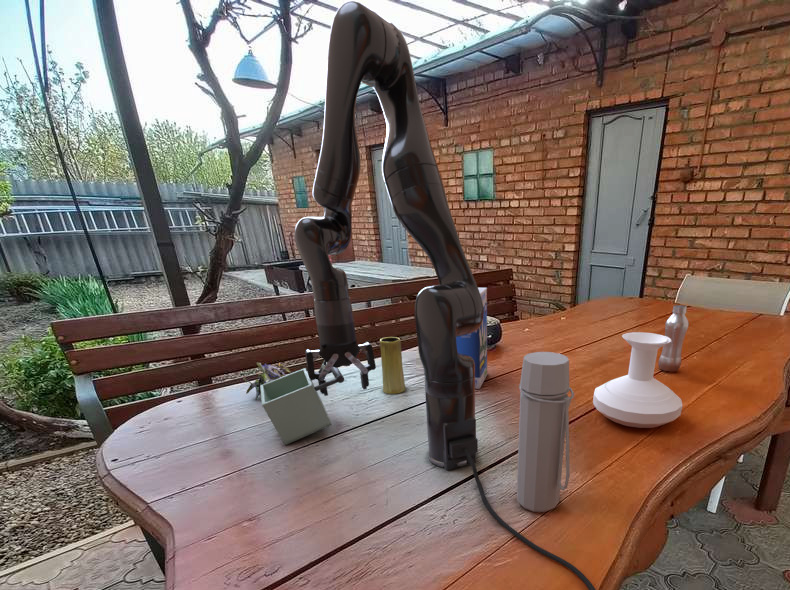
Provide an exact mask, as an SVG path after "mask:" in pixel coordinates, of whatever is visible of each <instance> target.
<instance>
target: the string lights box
mask: <svg viewBox="0 0 790 590" xmlns="http://www.w3.org/2000/svg"><path fill="white" fill-rule="evenodd" d="M478 289H479V292H480V295H481V298H482V302H483V309H484V315H483V321H482V324H481V326H480V327H479V328H478V329H477V330H476V331H475V332H472V333H470V334H466V335H463V336H459V337H456V343H457V351H458V353H462V354H466V355H468V356H470V357H472V359H473V360H474V363H475V390H480V389H481V387H482V385H483V383H484V381H485V380H486V377H487V376H488V287H478Z"/></svg>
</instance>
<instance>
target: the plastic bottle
mask: <svg viewBox="0 0 790 590" xmlns="http://www.w3.org/2000/svg"><path fill="white" fill-rule="evenodd" d="M687 308H688V307H687V305H682V304H677V305H676V304H675V305H673V306H672V311H671V312H672V314H671V315H670V316H669V317H668V318H667V320H666V322H665V325H664V336H667V337H669V338H670V339H671V342H669V343H668V344H666V345H664V346H662V350H661V353H660V356H659V359H658V361H657V362H658V368H659V370H661V371H664V372H677V371H679V370H680V368H681V365H682V353H683V352H682V351H683V345H684V341H685V337H686V334H687V331H688V328H689V325H690V324H689V320H688V317H687V316H686V314H687Z"/></svg>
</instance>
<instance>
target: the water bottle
mask: <svg viewBox="0 0 790 590" xmlns="http://www.w3.org/2000/svg"><path fill="white" fill-rule="evenodd" d="M518 388H519V391H520V393H519V421H518V449H517V474H516V475H517V477H516V478H517V479H516V501H517V503H518V504H520V505H521V507H522V508H523V509H525V510H527V511H530V512H533V513H545V512H548V511H551V510H553V509H555V508H556V507H557V505H558V504H559V502H560V497H561V490H562V491H566V490H567V488H568V485H569V481H570V476H571V474H570V473H571V471H570V469H571V467H570V421H569V418H570V417H569V416H570V415H569V408H570V405H571V402H572V399H574V397H575V392H574V390H573V389H572V388H571V387H570V359H569V358H568V356H567V355H564V354H563V353H558V352H552V351H536V352H530V353H529V352H528V353H527V354H525V355H524V356H523V359H522V366H521V374H520V382H519V385H518ZM569 392H570V394H571V396H569V395H568V393H569ZM564 449H565V450H564ZM564 451H565V480H564V486H562V476H563V475H562V473H563V462H564Z"/></svg>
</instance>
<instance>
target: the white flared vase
mask: <svg viewBox="0 0 790 590" xmlns="http://www.w3.org/2000/svg"><path fill="white" fill-rule="evenodd" d="M621 337H622V338H623V339H624V341H626V342H627V343H628V344H629V345H630V346H631V350H630V359H629V365H628V373H627V374H626V375H623V376H619V377H616V378H614V379H610V380H609V381H607V382H605V383H603V384H600V385H599V386H596V387H595V389H594V392H593V397H592V398H593V399H592V404H593V406H594V408H595V409H596V410H597V411H598V412H599V413H600V414H602V415H603V416H604V417H605V418H606V419H609V420H610V421H612V422H614V423H617V424H619V425H623V426H626V427H631V428H638V429H643V428H644V429H650V428H651V429H653V428H657V427H660V426H664V425H666V424H669V423H671V422H674V421H675V420H677V419H678V418H679V417H681V416H682V415H681V414H682V410H683V401H682V398H681V397H680V396H678V395H677V394H676V393H675V392H674V391H673V390H672V389H671V388H670V387H669V386H668V385H666V384H664V383H662V381H659V380H658V379H656V378H654V376H655V375H654V374H655V368H656V363H657V357H658V350H659V349H661V348H663V346H664V345H666V344H668V343H669V342H671V339H670V338H669V337H667V336H665V335H663V334H659V333H653V332H643V331H632V332H626V333H623V334H622V335H621Z"/></svg>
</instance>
